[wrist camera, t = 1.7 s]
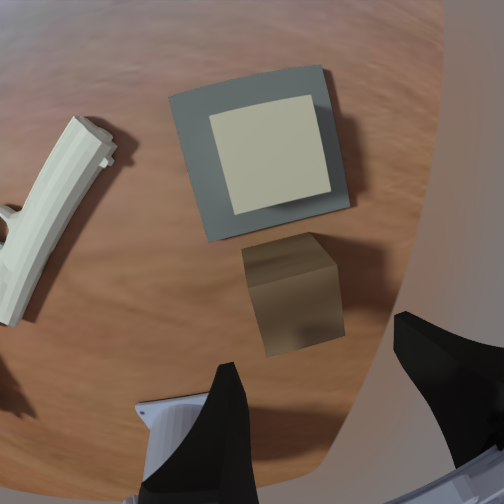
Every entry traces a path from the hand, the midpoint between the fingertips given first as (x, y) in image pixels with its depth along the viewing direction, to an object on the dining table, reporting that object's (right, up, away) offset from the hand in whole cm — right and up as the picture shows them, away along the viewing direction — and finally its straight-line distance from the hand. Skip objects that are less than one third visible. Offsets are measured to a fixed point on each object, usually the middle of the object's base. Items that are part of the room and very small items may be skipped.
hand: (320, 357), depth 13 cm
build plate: (-2, +10, +6) cm, 12 cm away
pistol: (-21, +7, +6) cm, 23 cm away
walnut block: (-1, +3, +9) cm, 9 cm away
